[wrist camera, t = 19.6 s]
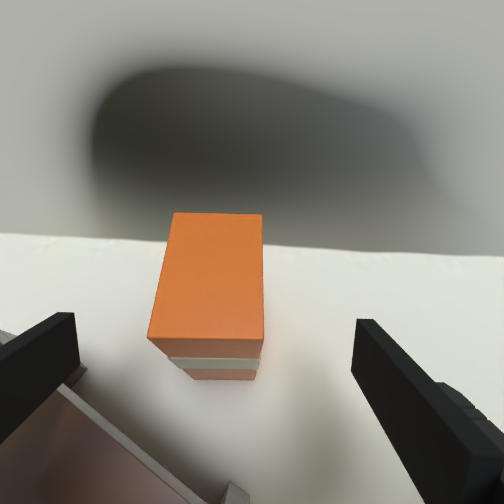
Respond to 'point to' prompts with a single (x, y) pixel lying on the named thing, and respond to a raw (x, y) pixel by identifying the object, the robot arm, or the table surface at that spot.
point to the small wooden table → (84, 459)
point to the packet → (211, 296)
